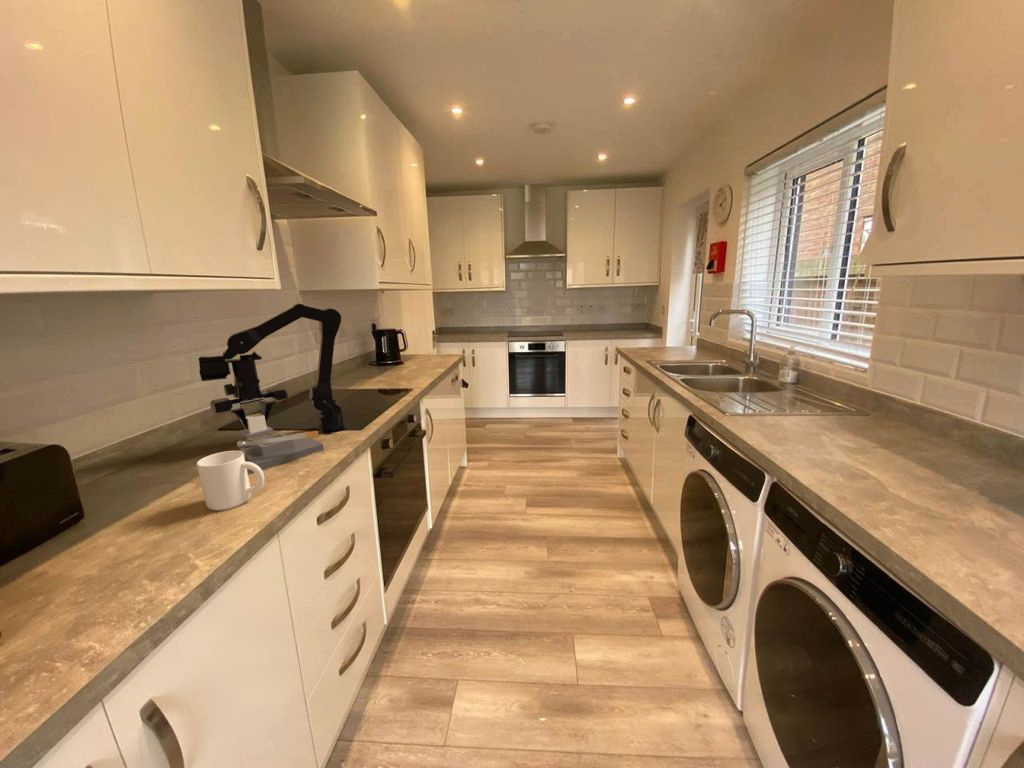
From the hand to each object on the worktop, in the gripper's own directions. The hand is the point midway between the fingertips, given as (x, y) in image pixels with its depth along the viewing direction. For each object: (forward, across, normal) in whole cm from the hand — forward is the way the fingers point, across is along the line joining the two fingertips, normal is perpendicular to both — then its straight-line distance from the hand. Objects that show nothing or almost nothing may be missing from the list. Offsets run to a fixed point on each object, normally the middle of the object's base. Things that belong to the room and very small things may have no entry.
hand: (255, 427), depth 122 cm
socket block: (+6, 0, +13) cm, 14 cm away
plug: (+4, 0, 0) cm, 4 cm away
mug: (+6, +15, +35) cm, 39 cm away
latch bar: (0, +1, +20) cm, 20 cm away
